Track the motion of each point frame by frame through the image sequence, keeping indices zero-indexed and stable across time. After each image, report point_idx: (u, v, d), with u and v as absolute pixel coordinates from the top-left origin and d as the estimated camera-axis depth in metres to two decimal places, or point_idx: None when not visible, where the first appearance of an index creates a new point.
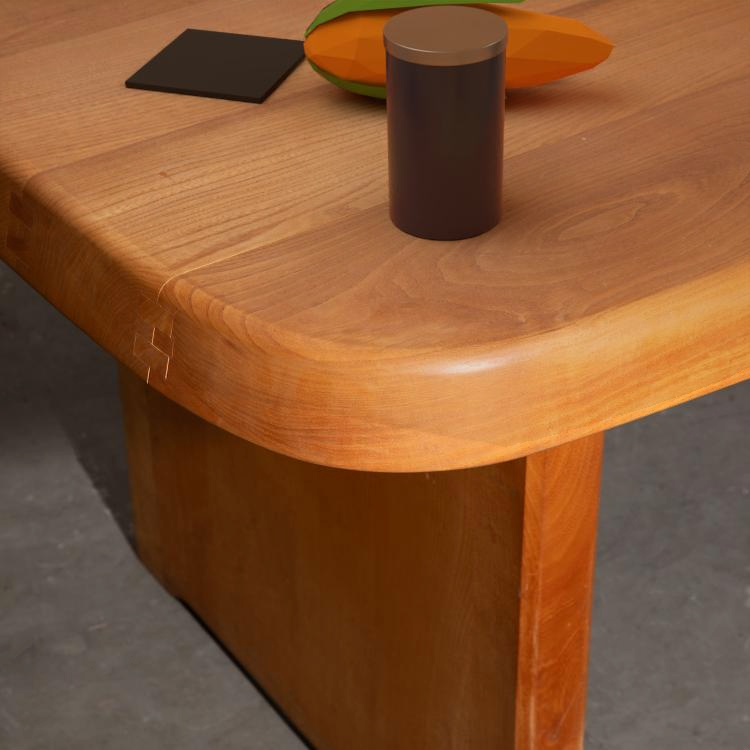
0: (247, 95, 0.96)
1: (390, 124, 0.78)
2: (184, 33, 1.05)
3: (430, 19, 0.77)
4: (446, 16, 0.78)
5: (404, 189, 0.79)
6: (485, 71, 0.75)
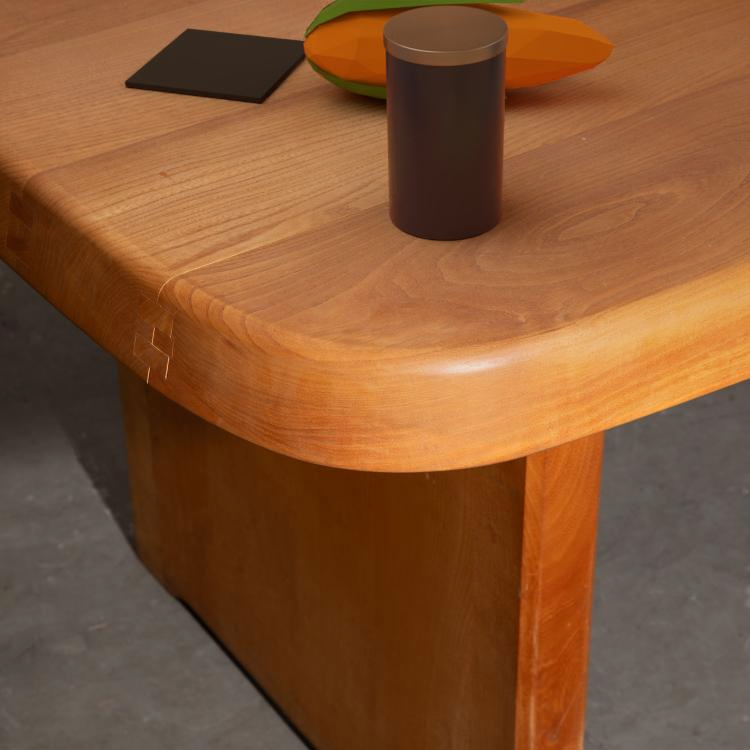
0: (247, 95, 0.96)
1: (390, 124, 0.78)
2: (184, 33, 1.05)
3: (430, 19, 0.77)
4: (446, 16, 0.78)
5: (404, 189, 0.79)
6: (485, 71, 0.75)
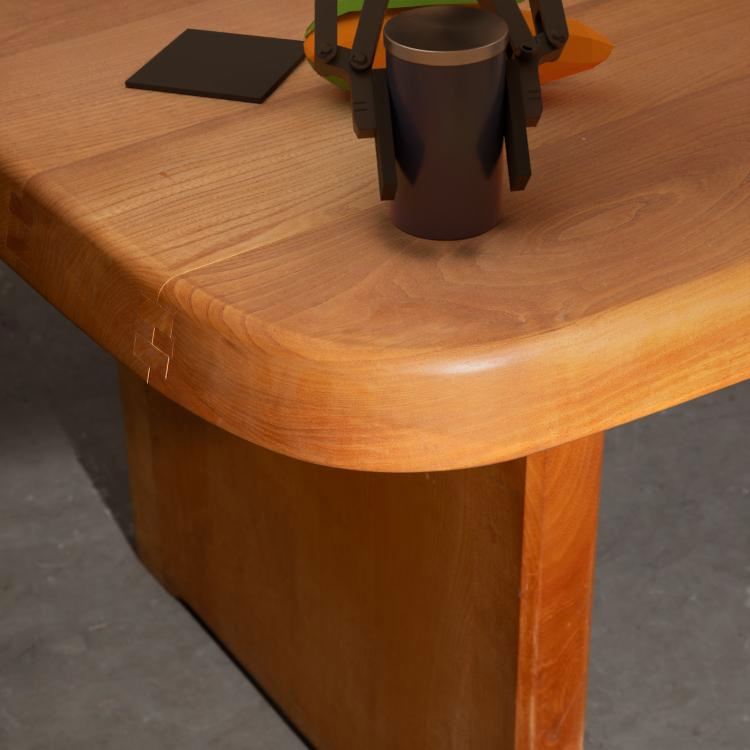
0: (247, 95, 0.96)
1: None
2: (184, 33, 1.05)
3: (430, 19, 0.77)
4: (446, 16, 0.78)
5: (404, 189, 0.79)
6: (485, 71, 0.75)
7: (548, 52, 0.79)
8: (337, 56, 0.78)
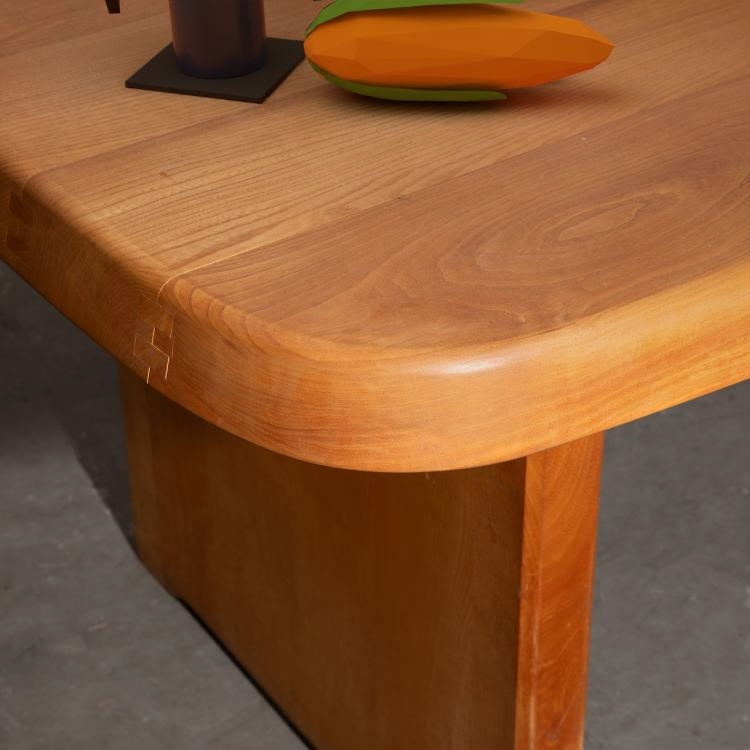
0: (247, 95, 0.96)
1: None
2: None
3: None
4: None
5: (181, 36, 0.97)
6: None
7: None
8: None
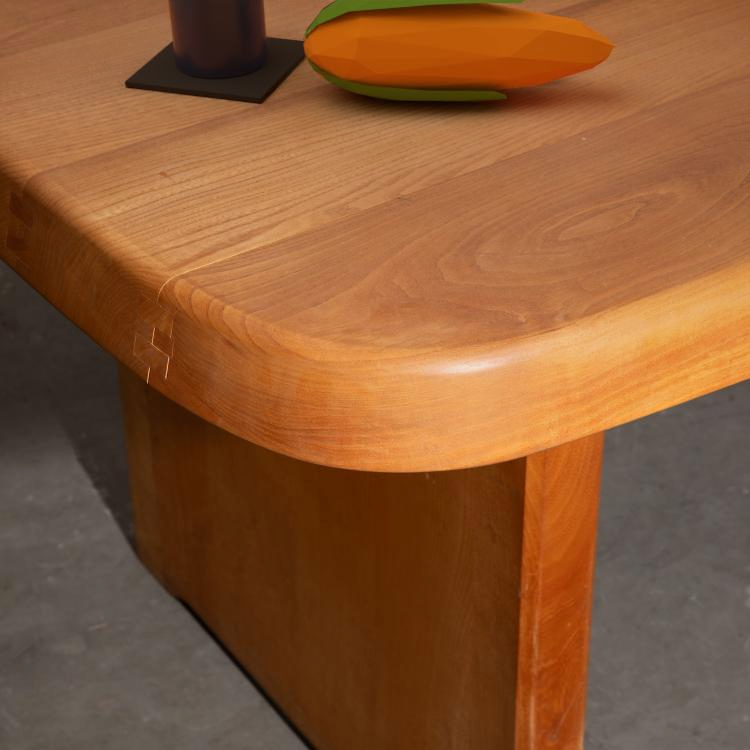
0: (247, 95, 0.96)
1: None
2: None
3: None
4: None
5: (181, 36, 0.97)
6: None
7: None
8: None
